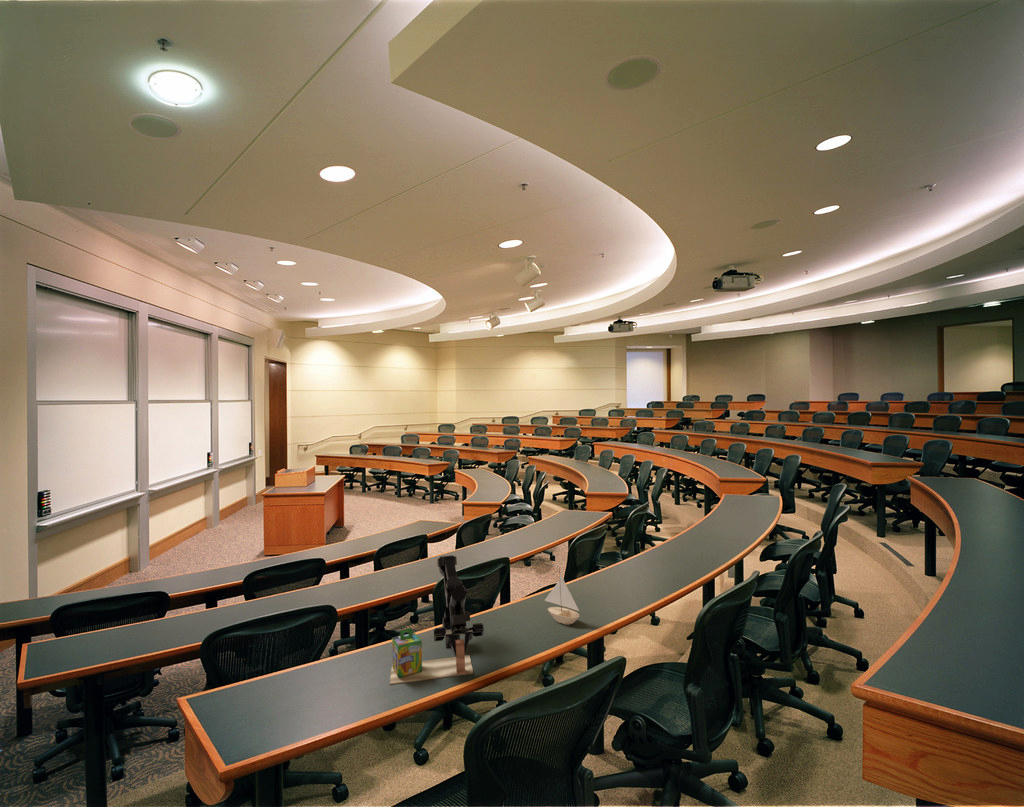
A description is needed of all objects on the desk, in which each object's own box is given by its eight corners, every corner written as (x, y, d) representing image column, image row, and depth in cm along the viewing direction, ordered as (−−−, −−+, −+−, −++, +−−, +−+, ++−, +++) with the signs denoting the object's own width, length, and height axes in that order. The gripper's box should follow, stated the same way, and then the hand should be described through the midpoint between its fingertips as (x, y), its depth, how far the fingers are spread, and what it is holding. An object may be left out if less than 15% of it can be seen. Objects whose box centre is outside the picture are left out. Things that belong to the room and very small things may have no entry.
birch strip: (392, 666, 185) (391, 635, 186) (469, 656, 191) (468, 626, 192) (389, 684, 172) (388, 651, 172) (473, 673, 177) (472, 641, 178)
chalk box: (398, 679, 174) (397, 637, 175) (392, 668, 182) (391, 628, 183) (423, 672, 179) (422, 631, 180) (415, 662, 187) (414, 623, 188)
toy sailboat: (583, 568, 220) (571, 572, 214) (586, 624, 218) (574, 630, 212) (549, 560, 235) (537, 564, 229) (551, 613, 233) (539, 618, 227)
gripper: (433, 606, 181) (434, 649, 170) (482, 601, 185) (487, 643, 173) (433, 620, 189) (434, 662, 177) (480, 614, 192) (485, 655, 181)
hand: (460, 655), depth 177 cm, fingers closed on birch strip, 3 cm apart
